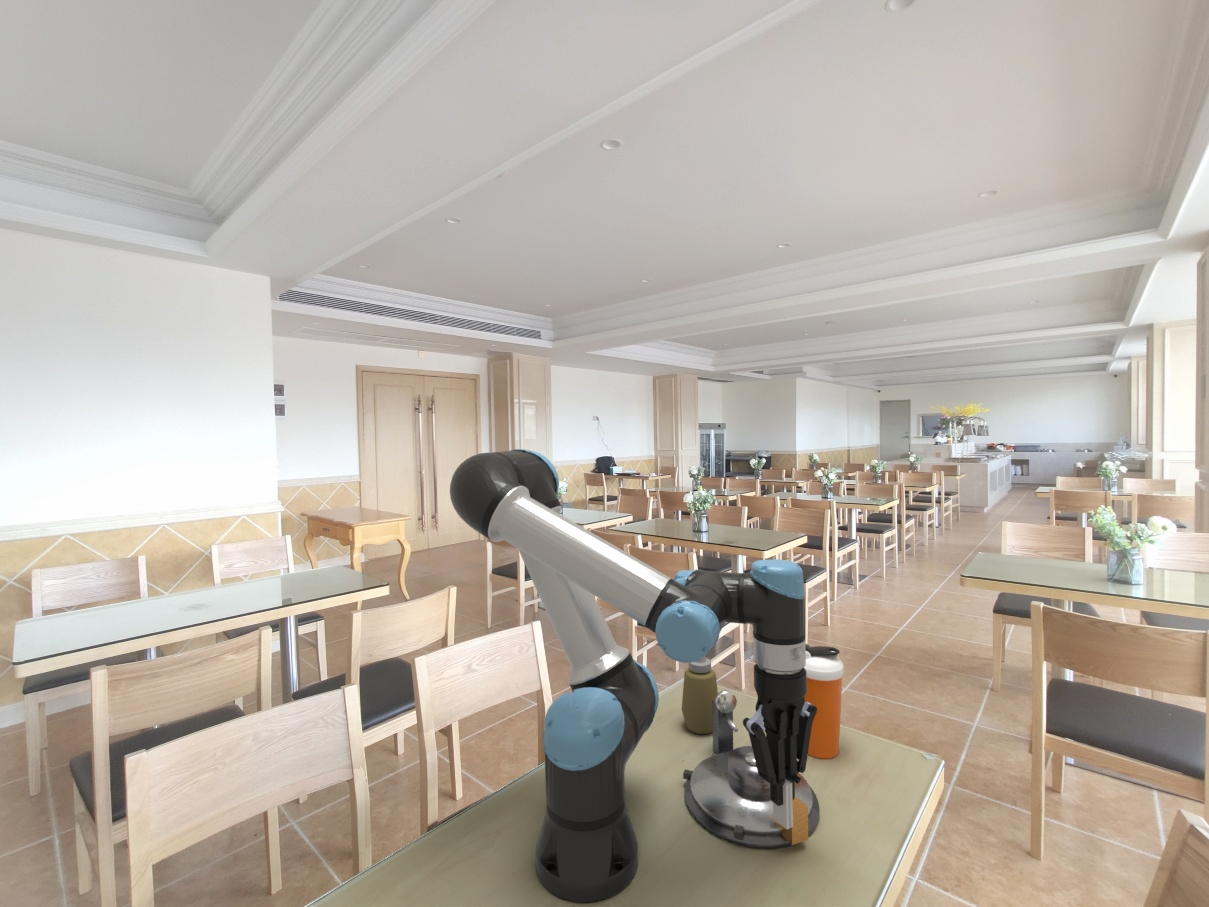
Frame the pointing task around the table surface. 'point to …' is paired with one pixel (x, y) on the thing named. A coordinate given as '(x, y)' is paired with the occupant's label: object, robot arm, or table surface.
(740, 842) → the turntable base
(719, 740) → the indicator post
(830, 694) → the shaker bottle
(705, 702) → the squeeze bottle
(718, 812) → the platter
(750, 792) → the cover
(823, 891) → the table surface
